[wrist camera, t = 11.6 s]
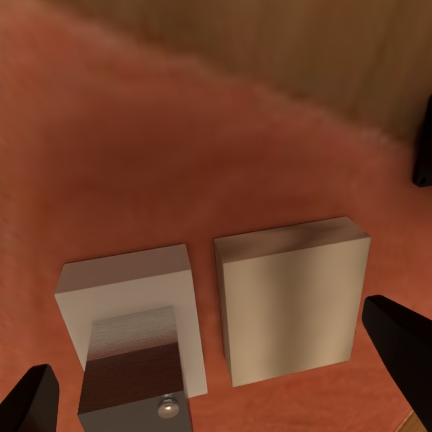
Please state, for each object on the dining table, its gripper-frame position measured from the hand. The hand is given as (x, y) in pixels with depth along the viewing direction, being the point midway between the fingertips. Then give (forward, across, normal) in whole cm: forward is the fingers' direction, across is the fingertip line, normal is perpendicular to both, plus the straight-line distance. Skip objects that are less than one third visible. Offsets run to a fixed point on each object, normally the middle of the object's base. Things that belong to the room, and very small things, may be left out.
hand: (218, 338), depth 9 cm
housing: (+10, +4, +11) cm, 15 cm away
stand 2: (+13, -7, +11) cm, 18 cm away
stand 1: (+13, +4, +11) cm, 17 cm away
